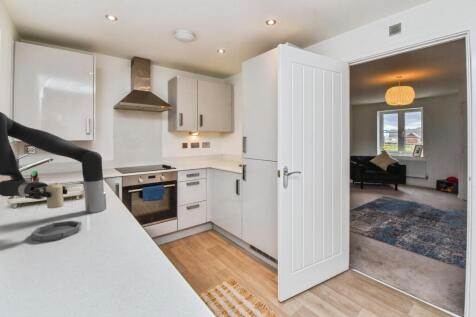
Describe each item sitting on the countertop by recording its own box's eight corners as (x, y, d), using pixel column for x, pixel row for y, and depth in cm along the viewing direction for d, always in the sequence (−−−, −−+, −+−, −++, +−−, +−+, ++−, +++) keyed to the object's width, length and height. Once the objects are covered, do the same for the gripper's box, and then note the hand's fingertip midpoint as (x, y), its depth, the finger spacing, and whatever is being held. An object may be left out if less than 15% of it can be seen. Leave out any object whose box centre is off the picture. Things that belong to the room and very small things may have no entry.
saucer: (65, 224, 110) (65, 219, 110) (89, 228, 104) (88, 223, 104) (24, 238, 95) (23, 232, 95) (49, 244, 89) (49, 237, 89)
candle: (54, 209, 95) (52, 185, 95) (43, 208, 97) (41, 184, 96) (67, 205, 101) (65, 182, 100) (56, 204, 102) (55, 182, 101)
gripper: (12, 184, 96) (38, 187, 90) (51, 178, 110) (75, 181, 104) (14, 202, 97) (39, 206, 91) (52, 194, 110) (76, 197, 104)
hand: (58, 193), depth 97 cm, fingers closed on candle, 5 cm apart
